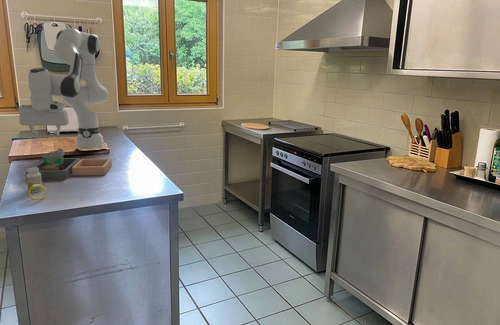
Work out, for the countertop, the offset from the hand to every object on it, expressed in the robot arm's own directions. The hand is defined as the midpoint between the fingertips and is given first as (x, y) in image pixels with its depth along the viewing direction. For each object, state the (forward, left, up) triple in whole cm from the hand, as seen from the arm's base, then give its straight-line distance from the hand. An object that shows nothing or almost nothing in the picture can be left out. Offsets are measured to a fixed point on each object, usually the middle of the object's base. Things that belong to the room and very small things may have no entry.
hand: (46, 134), depth 171 cm
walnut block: (0, 0, -20) cm, 20 cm away
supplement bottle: (+21, +1, -20) cm, 29 cm away
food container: (-9, 0, -20) cm, 22 cm away
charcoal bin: (-6, 0, -20) cm, 21 cm away
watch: (+31, +6, -20) cm, 38 cm away
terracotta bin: (-8, +17, -20) cm, 27 cm away
